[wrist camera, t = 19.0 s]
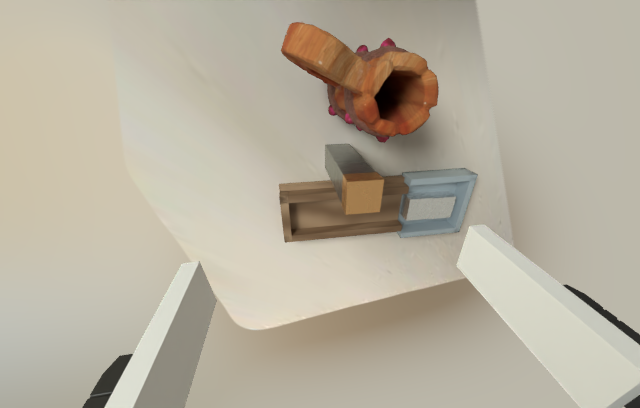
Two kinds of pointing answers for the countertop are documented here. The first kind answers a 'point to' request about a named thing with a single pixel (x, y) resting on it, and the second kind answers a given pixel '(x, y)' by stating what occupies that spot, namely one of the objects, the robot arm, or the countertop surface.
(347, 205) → the grey and tan block
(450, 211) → the chip
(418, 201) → the chip
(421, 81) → the mug
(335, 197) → the slot board
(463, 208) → the tray
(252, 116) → the countertop surface
